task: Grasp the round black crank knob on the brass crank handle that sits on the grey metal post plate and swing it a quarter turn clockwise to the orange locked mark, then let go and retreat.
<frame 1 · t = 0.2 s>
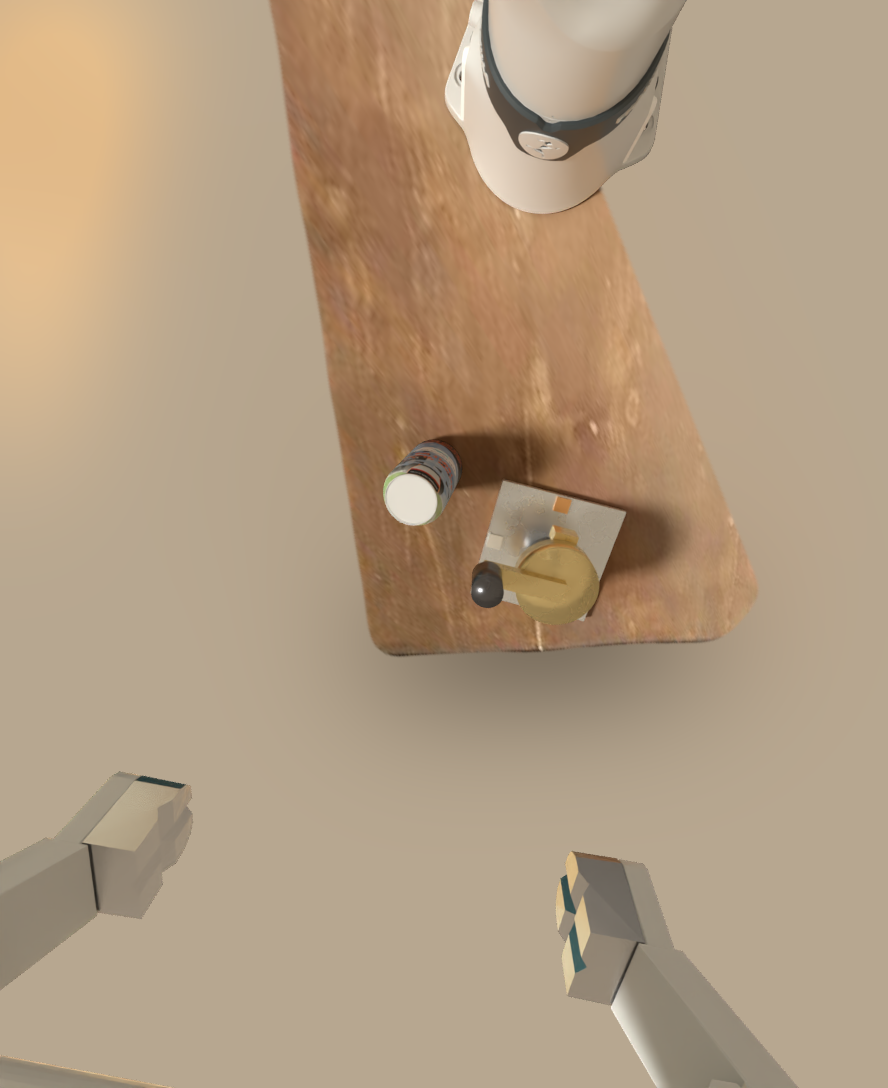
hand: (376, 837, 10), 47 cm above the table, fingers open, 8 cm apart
beverage can: (431, 468, 55), on the table
brass crank handle: (534, 582, 48), point 10 cm above the table, hinge at 0.0°
post plate: (544, 550, 57), on the table
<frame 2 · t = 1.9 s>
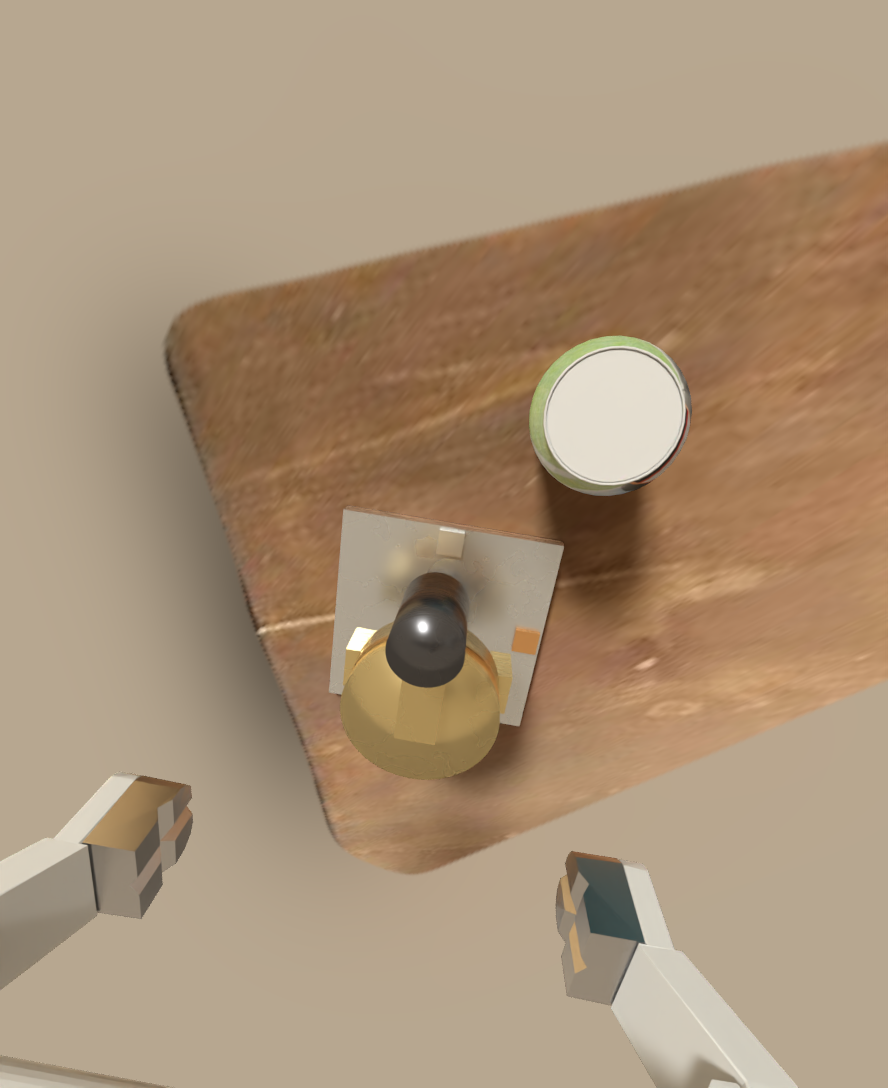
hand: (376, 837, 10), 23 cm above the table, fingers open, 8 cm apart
beverage can: (575, 410, 29), on the table
brass crank handle: (424, 679, 24), point 10 cm above the table, hinge at 0.0°
post plate: (438, 618, 34), on the table
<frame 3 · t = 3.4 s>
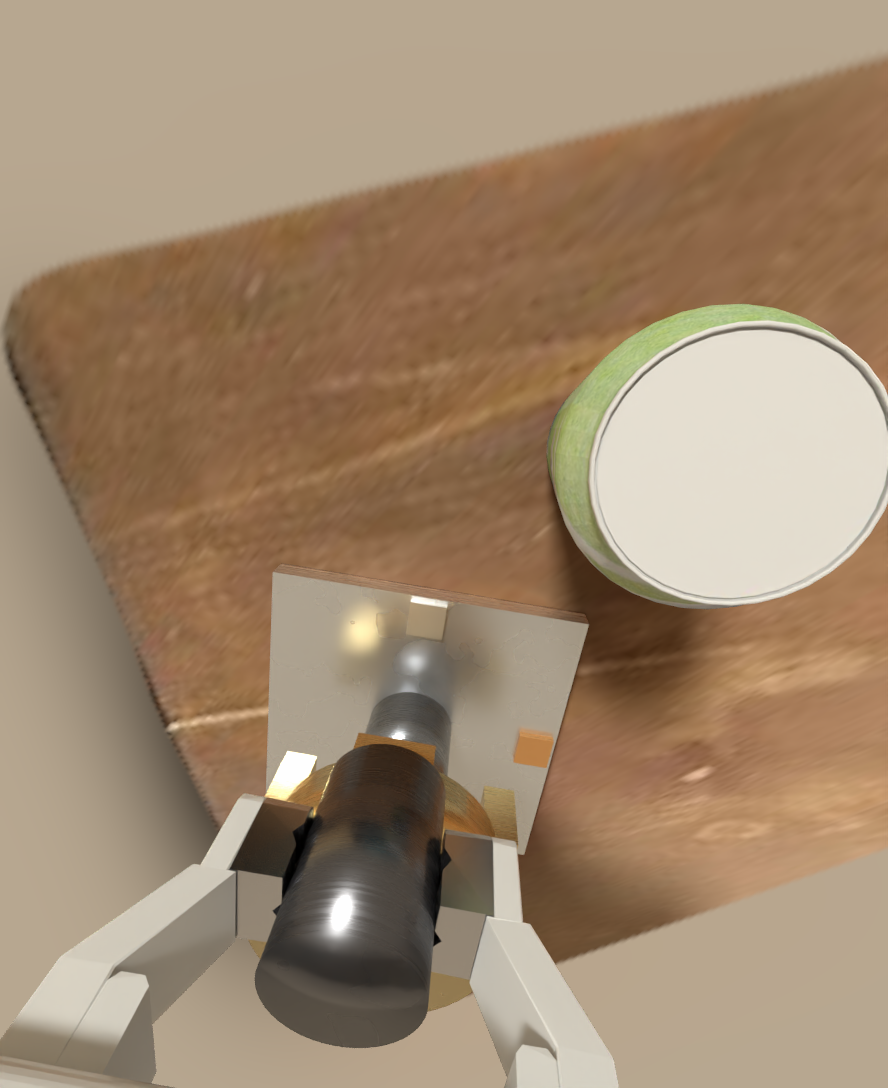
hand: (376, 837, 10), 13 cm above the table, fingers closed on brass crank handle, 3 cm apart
beverage can: (607, 432, 20), on the table
brass crank handle: (376, 881, 14), point 10 cm above the table, hinge at 0.1°, touching gripper
post plate: (413, 713, 25), on the table
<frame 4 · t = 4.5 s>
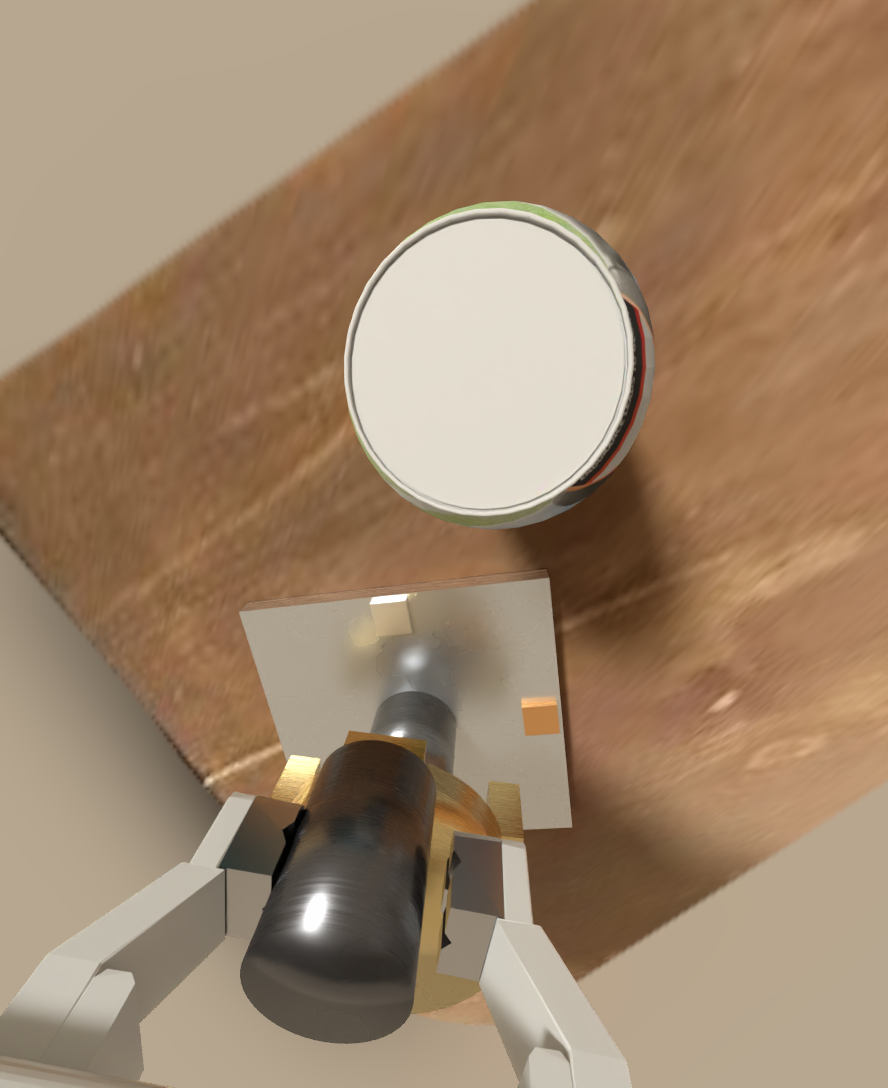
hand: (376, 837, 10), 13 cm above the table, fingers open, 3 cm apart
beverage can: (502, 383, 19), on the table
brass crank handle: (379, 880, 14), point 10 cm above the table, hinge at 13.9°, touching gripper
post plate: (417, 712, 25), on the table
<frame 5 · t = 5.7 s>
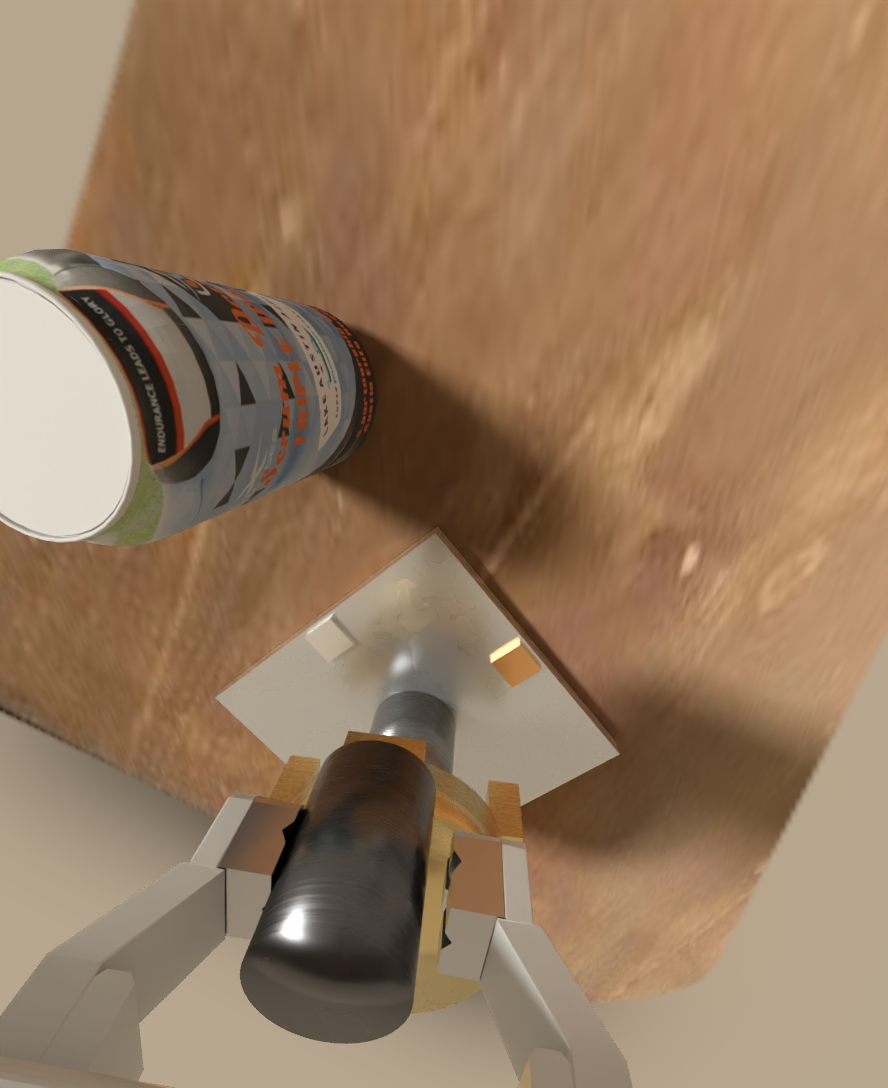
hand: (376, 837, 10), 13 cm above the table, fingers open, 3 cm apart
beverage can: (296, 390, 20), on the table
brass crank handle: (378, 880, 14), point 10 cm above the table, hinge at 43.9°, touching gripper
post plate: (417, 712, 25), on the table
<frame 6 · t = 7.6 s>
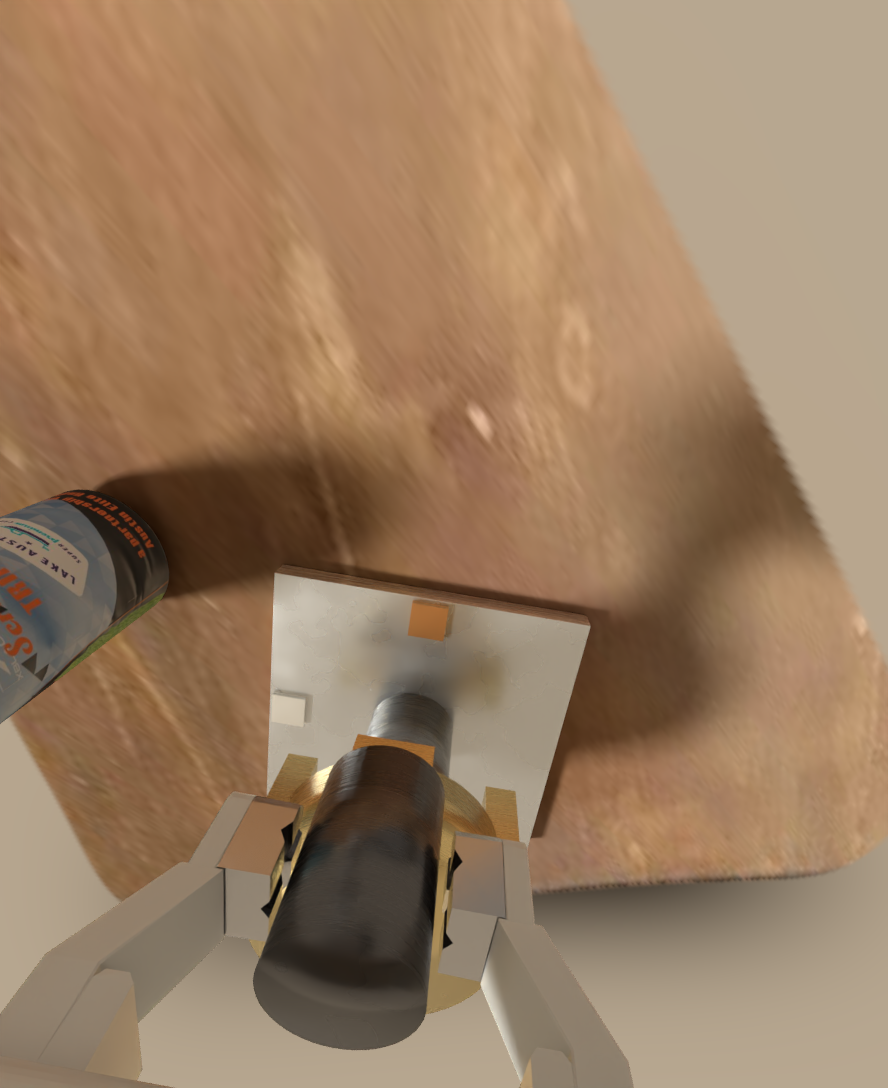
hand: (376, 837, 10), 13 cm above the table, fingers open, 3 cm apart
beverage can: (118, 554, 23), on the table
brass crank handle: (377, 883, 14), point 10 cm above the table, hinge at 89.4°
post plate: (414, 714, 25), on the table
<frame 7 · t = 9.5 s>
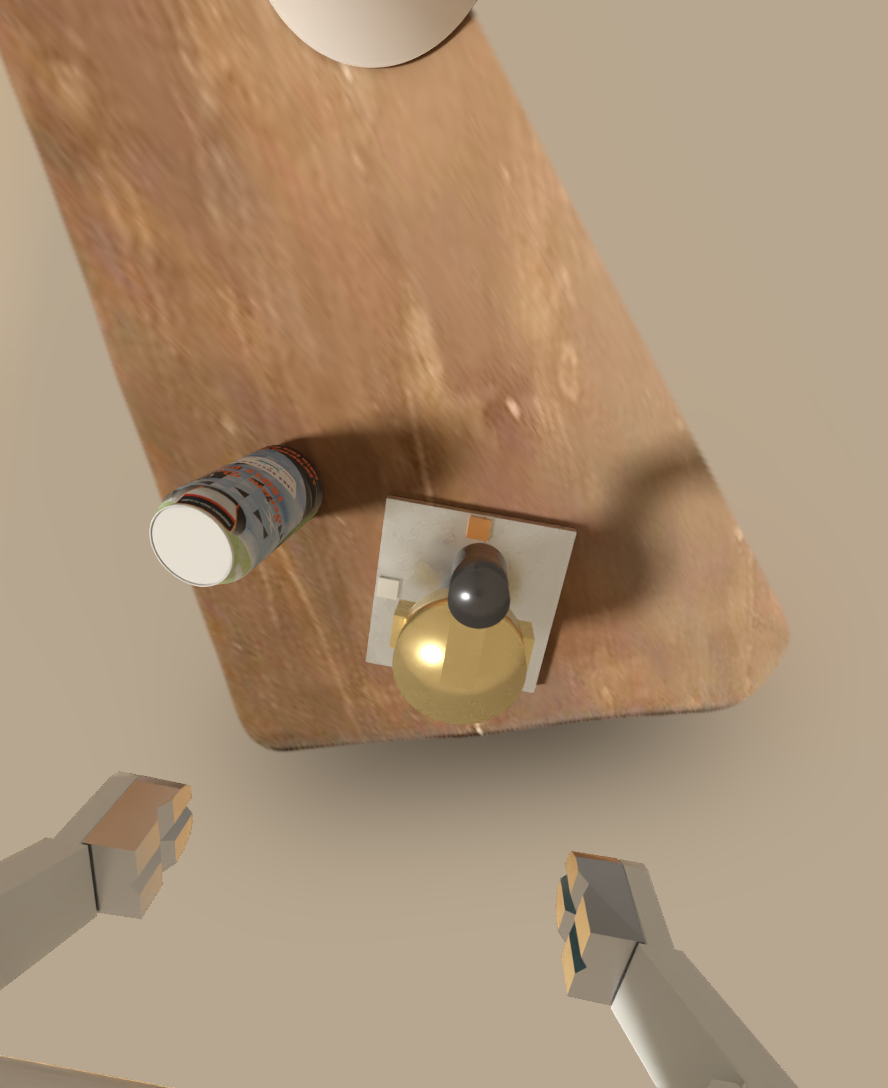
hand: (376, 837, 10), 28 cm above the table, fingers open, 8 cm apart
beverage can: (284, 488, 37), on the table
brass crank handle: (465, 635, 29), point 10 cm above the table, hinge at 89.5°
post plate: (464, 595, 39), on the table
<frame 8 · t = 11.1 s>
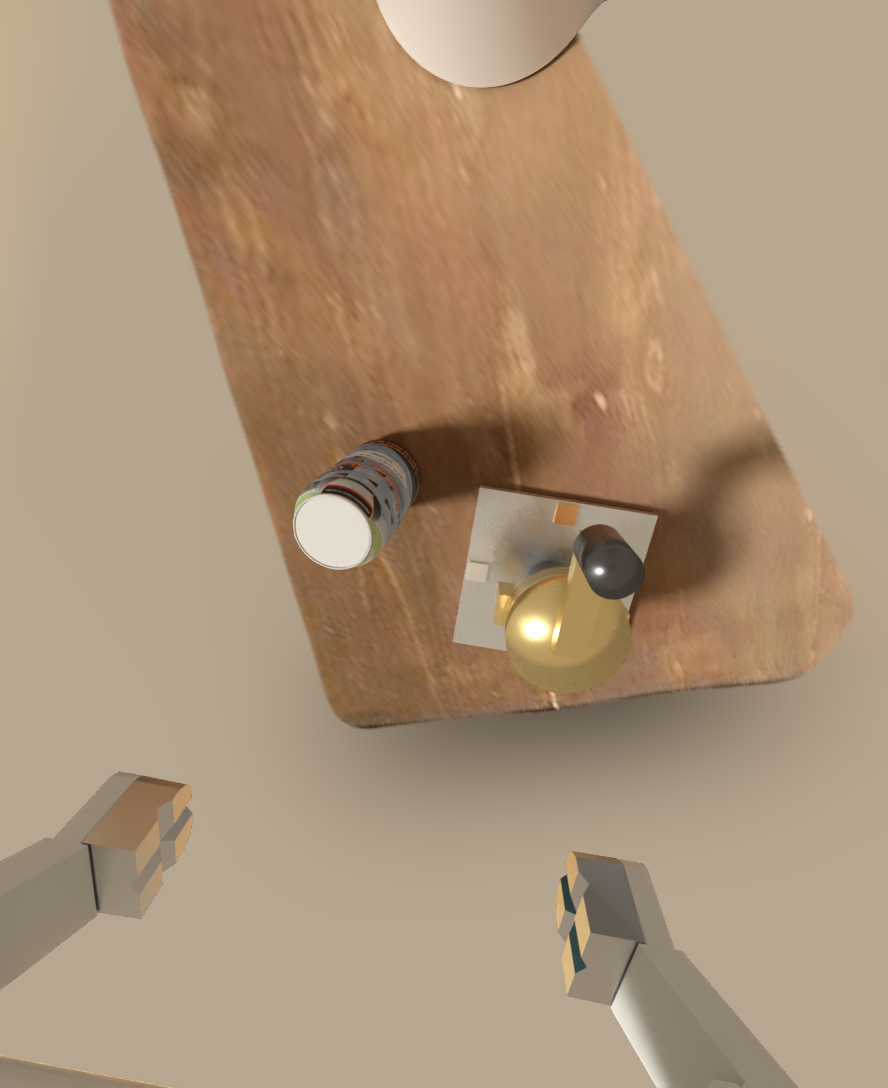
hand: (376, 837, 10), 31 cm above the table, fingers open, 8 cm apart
beverage can: (380, 480, 40), on the table
brass crank handle: (575, 610, 31), point 10 cm above the table, hinge at 89.5°
post plate: (547, 578, 42), on the table
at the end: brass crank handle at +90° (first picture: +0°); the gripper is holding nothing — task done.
